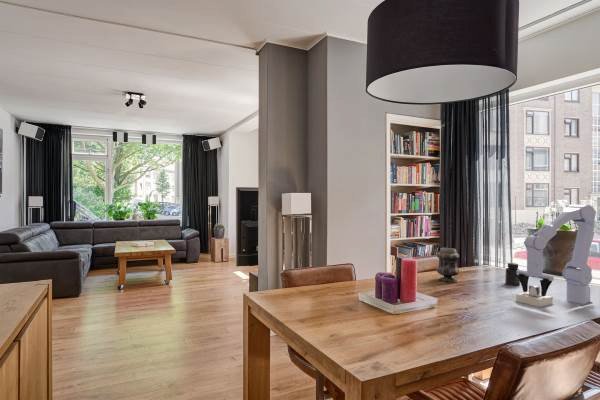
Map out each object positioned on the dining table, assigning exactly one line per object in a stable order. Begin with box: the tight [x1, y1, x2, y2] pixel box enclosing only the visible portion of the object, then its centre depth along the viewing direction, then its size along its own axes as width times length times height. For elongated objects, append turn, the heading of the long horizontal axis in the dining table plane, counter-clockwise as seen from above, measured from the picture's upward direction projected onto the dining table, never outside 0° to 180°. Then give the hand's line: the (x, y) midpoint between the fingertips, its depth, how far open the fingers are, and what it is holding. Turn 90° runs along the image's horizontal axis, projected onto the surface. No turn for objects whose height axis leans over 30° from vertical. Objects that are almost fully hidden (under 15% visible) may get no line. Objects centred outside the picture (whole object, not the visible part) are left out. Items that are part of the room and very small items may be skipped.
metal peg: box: [528, 284, 541, 298], centre depth 159 cm, size 4×4×7 cm
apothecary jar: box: [436, 247, 460, 283], centre depth 204 cm, size 12×12×18 cm
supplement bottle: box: [504, 262, 521, 287], centre depth 192 cm, size 7×7×12 cm
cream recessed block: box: [499, 291, 567, 309], centre depth 164 cm, size 20×18×4 cm
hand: (534, 293), depth 159 cm, fingers open, 7 cm apart
